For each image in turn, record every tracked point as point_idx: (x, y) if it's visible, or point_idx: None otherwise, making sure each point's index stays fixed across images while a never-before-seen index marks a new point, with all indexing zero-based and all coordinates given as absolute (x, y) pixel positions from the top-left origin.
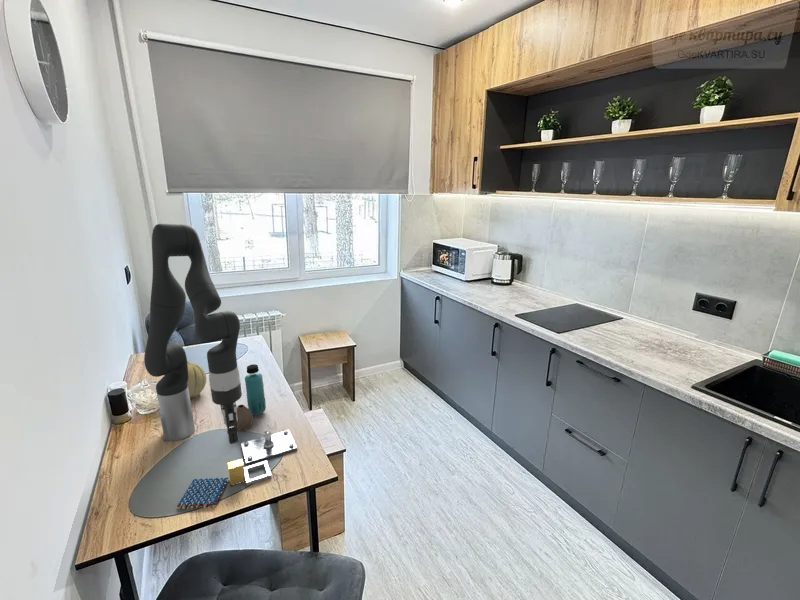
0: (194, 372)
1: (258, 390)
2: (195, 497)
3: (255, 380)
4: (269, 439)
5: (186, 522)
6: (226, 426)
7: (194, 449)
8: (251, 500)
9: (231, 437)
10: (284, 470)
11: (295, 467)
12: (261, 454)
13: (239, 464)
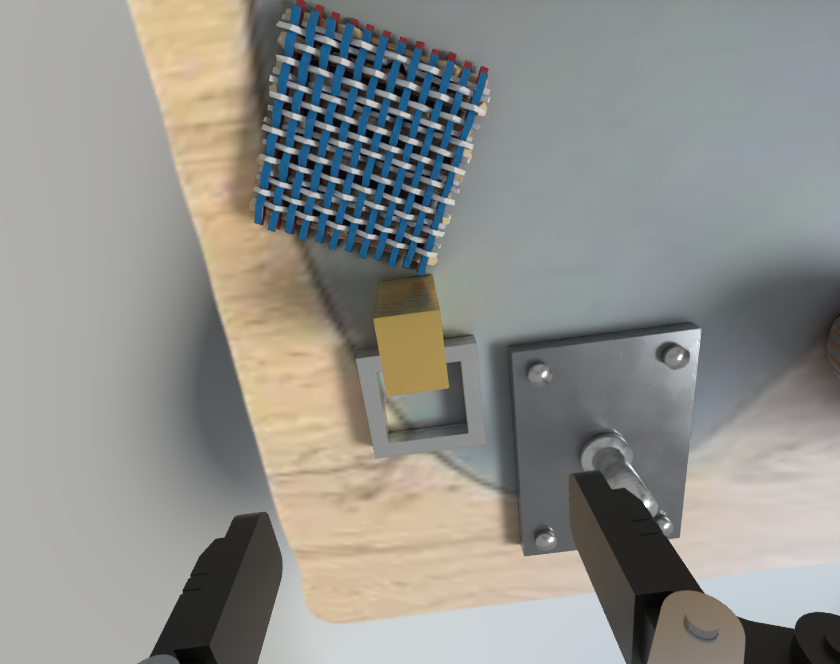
0: None
1: None
2: (329, 105)
3: None
4: None
5: (177, 72)
6: (574, 476)
7: (824, 43)
8: (257, 369)
9: (178, 614)
10: (406, 493)
11: (409, 531)
12: (546, 422)
13: (397, 375)
